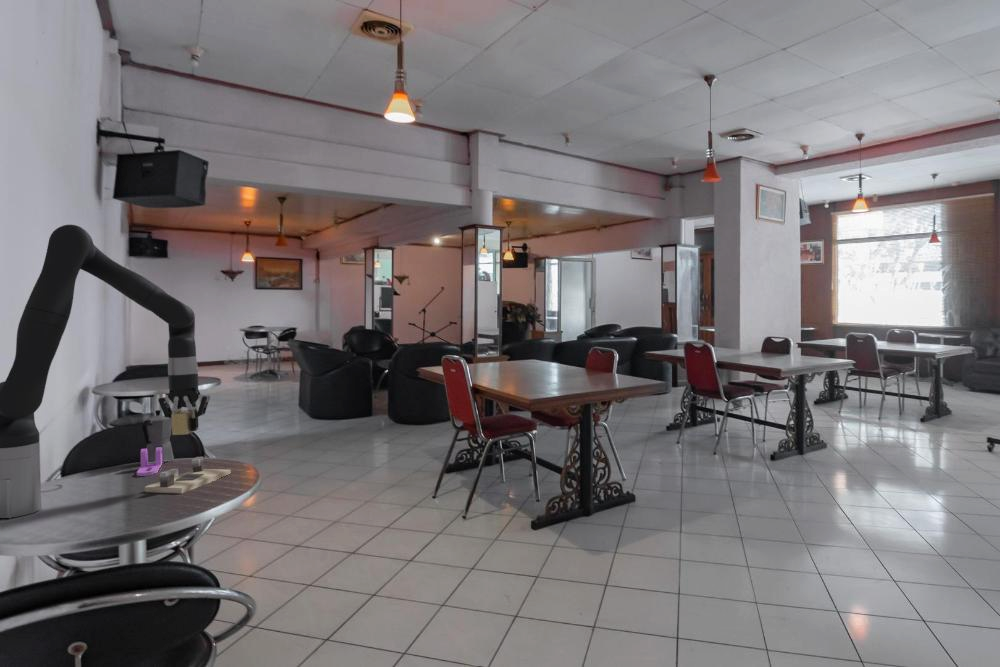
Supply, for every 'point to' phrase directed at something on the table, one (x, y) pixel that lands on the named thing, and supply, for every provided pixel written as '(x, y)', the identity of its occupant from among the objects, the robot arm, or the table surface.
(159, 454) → the bracket
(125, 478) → the table surface
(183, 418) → the tan rectangular block
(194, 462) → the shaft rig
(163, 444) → the coffeepot
